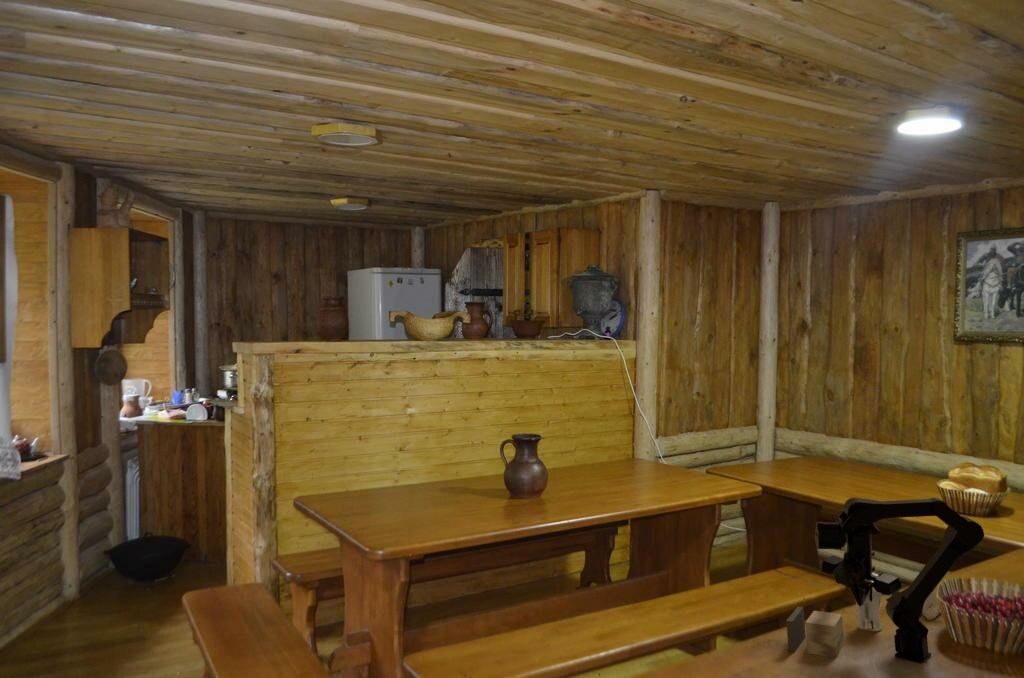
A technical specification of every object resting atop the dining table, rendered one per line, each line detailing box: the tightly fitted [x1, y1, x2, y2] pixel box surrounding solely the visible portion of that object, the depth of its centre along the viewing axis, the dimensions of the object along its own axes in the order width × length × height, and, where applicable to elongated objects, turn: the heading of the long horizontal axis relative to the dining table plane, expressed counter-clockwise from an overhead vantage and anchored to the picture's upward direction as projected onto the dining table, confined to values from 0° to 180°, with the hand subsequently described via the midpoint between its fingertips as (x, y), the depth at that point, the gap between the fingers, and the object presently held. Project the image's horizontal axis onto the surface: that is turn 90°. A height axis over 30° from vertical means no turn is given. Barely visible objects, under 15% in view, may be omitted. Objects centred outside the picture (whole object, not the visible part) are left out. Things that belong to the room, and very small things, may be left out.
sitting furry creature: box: [921, 589, 941, 621], centre depth 216 cm, size 10×9×12 cm
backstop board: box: [785, 606, 807, 654], centre depth 200 cm, size 2×12×8 cm, turn 145°
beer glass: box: [855, 571, 883, 633], centre depth 208 cm, size 7×7×15 cm
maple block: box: [805, 610, 845, 659], centre depth 196 cm, size 7×10×8 cm
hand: (860, 605), depth 193 cm, fingers closed
